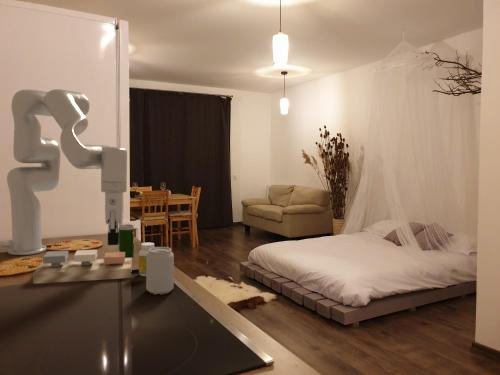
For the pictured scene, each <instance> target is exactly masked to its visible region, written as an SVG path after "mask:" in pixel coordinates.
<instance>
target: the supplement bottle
mask: <svg viewBox="0 0 500 375" xmlns="http://www.w3.org/2000/svg"><path fill="white" fill-rule="evenodd" d="M140 246H141V250H139V253H138V273H139V275H140V276H142V277H146V255H147V254H148V253H149V249H151V248H154V247H155V243H154V242H142V243H140Z"/></svg>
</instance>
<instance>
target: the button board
mask: <svg viewBox="0 0 500 375" xmlns="http://www.w3.org/2000/svg"><path fill="white" fill-rule="evenodd" d="M132 268H133V259H132V258H125V263H119V265H111V264H104V258H98V259H97V258H96V261H91V264H90V265H82V264H81V262H74V259H73V260H66V262H63V263H61V266H60V267H51V263H43V261H42V262H41V264H39V266H38V267H37V268H36V269H35V271H34V272H33V273H32V276H33V277H32V278H33V280H32V281H33V282H32V283H33V285H34V284H51V283H70V282H81V281H82V282H83V281H98V280H101V281H102V280H115V279H116V280H117V279H131V278H132V273H133V272H132V270H133V269H132ZM131 272H132V273H131Z"/></svg>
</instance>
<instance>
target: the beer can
mask: <svg viewBox="0 0 500 375" xmlns="http://www.w3.org/2000/svg"><path fill="white" fill-rule="evenodd" d="M118 231H119V243H118V252H125V258H132V260H134V258H135V227H134V224H126V223H125V224H119V225H118Z"/></svg>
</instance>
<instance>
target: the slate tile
mask: <svg viewBox="0 0 500 375" xmlns="http://www.w3.org/2000/svg"><path fill="white" fill-rule="evenodd" d="M68 258H69V250H57V251H56V250H54V251H46V253H44V255H43V256H42V262H43V263H51V267H60V266H61V263H63V262H66V261H68Z"/></svg>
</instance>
